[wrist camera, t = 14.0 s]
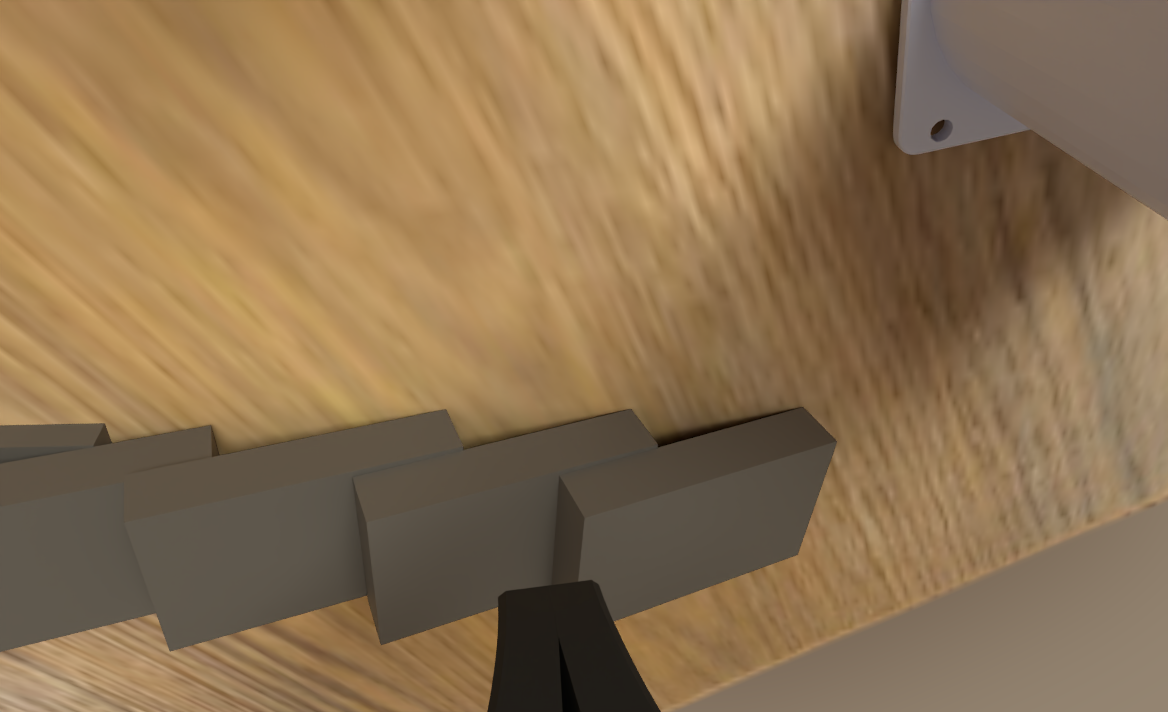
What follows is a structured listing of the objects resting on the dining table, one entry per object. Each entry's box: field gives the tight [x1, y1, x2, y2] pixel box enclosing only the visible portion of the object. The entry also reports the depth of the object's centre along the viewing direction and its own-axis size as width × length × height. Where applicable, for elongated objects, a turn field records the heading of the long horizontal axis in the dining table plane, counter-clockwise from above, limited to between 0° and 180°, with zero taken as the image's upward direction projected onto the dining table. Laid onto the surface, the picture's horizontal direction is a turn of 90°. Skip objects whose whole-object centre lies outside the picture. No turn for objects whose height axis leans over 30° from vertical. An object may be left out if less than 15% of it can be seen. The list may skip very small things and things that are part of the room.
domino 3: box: [352, 409, 658, 645], centre depth 23 cm, size 2×5×8 cm
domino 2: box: [124, 409, 463, 651], centre depth 22 cm, size 2×5×8 cm
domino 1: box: [0, 425, 219, 652], centre depth 21 cm, size 2×5×8 cm
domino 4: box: [552, 407, 837, 621], centre depth 24 cm, size 2×5×8 cm
